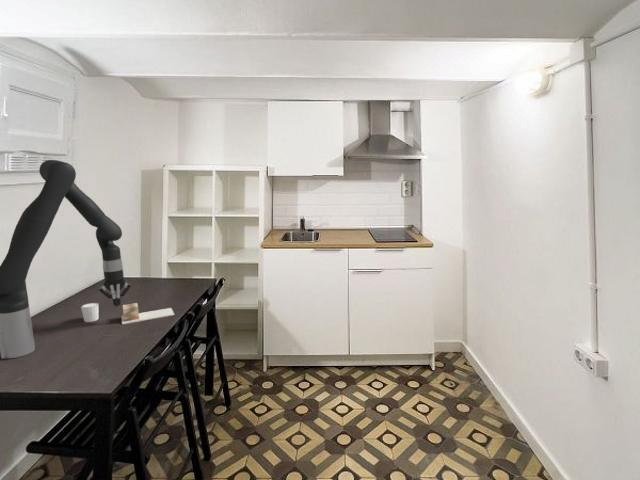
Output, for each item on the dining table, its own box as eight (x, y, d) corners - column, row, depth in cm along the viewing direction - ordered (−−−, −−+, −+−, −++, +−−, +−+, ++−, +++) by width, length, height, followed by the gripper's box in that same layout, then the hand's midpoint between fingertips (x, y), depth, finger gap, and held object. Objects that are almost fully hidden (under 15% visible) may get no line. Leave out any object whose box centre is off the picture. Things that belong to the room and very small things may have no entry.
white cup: (94, 322, 159) (92, 308, 158) (79, 322, 159) (77, 307, 158) (103, 316, 166) (101, 302, 165) (89, 316, 166) (87, 302, 165)
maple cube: (124, 321, 159) (123, 309, 158) (123, 317, 164) (122, 305, 163) (139, 319, 162) (138, 306, 161) (138, 314, 167) (137, 302, 166)
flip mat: (122, 324, 157) (122, 323, 157) (121, 317, 165) (121, 316, 165) (174, 315, 168) (174, 314, 168) (171, 308, 176) (171, 307, 176)
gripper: (95, 273, 149) (100, 311, 152) (130, 268, 156) (134, 305, 159) (95, 269, 156) (100, 306, 159) (129, 265, 162) (133, 300, 165)
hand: (117, 305), depth 159 cm, fingers closed
